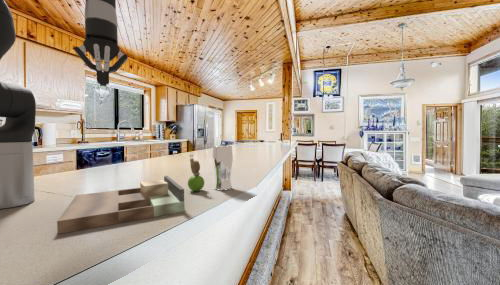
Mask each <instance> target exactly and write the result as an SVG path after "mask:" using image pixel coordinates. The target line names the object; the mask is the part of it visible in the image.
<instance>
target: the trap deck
mask: <svg viewBox="0 0 500 285" xmlns="http://www.w3.org/2000/svg"><path fill="white" fill-rule="evenodd" d="M163 181H165V182H167V183H168V194H165V195H158V196H152V197H146V198H145V197H144V196H143V195H142V194H141V189H140V187H136V188H127V189H126V188H125V189H118V190H109V191H101V192H93V193H83V194H76V195H75V196H74V198H73V199H72V200H71V201H70V203H69V204H68V206H67V207H66V208H65V209H64V211H63V213H62V214H61V215H60V217H59V218H58V220H57V221H56V224H57V225H56V226H57V230H56V231H57V235H62V234H66V233H71V232H77V231H78V232H79V231H82V230H88V229H94V228H99V227H104V226H110V225H115V224H121V223H122V224H123V223H126V222H132V221H133V222H134V221H139V220H143V219H148V218H154V217H160V216H165V215H170V214H171V215H172V214H176V213H183V212H185V188H183V187H182V186H181V185H180V184H178V182H176V181H174V180H173V178H171V177H169V176H168V175H164V176H163Z"/></svg>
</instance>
